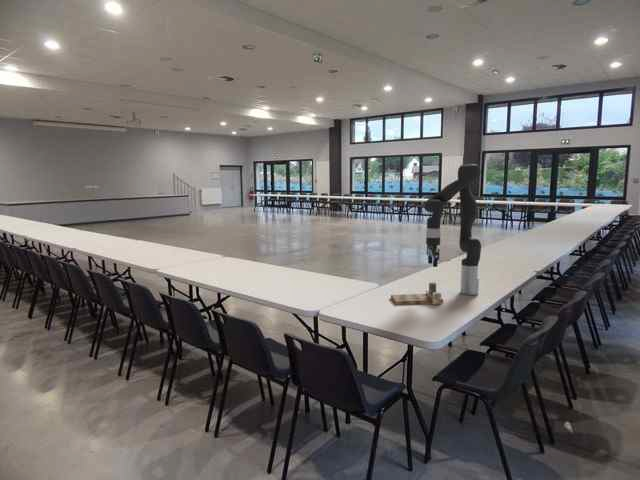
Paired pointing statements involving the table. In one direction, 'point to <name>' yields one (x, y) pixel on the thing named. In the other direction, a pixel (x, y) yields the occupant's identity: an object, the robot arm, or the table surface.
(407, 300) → the board
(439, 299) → the cream flanged bar
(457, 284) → the table surface
